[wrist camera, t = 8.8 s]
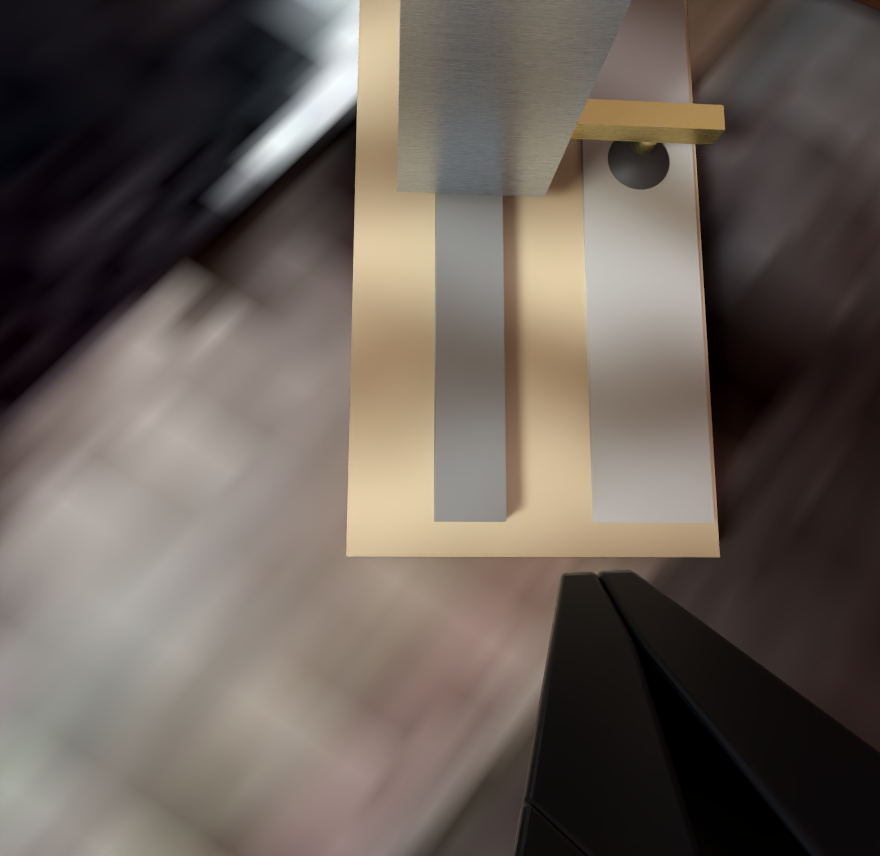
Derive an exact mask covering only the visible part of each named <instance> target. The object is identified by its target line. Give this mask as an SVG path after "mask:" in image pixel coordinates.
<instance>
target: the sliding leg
mask: <svg viewBox="0 0 880 856" xmlns="http://www.w3.org/2000/svg"><path fill="white" fill-rule="evenodd" d="M631 1H632V0H400V28H399V92H398V164H397V192H421V193H448V194H476V195H503V196H530V197H545V195H546V193H547V190H548V188H549V186H550V184H551V181H552V179H553V177H554V175H555V172H556V170H557V168H558V166H559V163H560V161H561V159H562V157H563V154H564V152H565V150H566V148H567V145H568V143H569V141H570V139H585V140H608V141H632V148H633V150H634V151H635V152H636V153H637V154H640V155H647V154H649V153H650V152H651V151H652V150H653V148H654V147H655V145H656V144H657V143H679V144H703V145H713V144H714V143H715V142H716V141H717V139H718V138H719V137H720V136H721V134H722V133H723V132H724V131H725V120H724V105H712V104H690V103H668V102H647V101H625V100H603V99H588V98H589V96H590V94H591V91H592V89H593V87H594V85H595V82H596V80H597V78H598V76H599V73H600V71H601V69H602V67H603V64H604V62H605V60H606V57H607V55H608V53H609V51H610V48H611V46H612V44H613V42H614V39H615V37H616V35H617V33H618V30H619V28H620V26H621V24H622V21H623V19H624V17H625V15H626V12H627V10H628V8H629V6H630V3H631Z"/></svg>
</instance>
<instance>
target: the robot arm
mask: <svg viewBox="0 0 880 856" xmlns="http://www.w3.org/2000/svg"><path fill="white" fill-rule="evenodd" d="M512 856H880V752H878V751H877V750H876V749H874V748H873V747H872V746H870V745H869V744H868V743H866V742H865V741H864V740H862V739H861V738H859V737H858V736H857V735H855V734H854V733H853V732H851V731H850V730H849V729H847V728H846V727H844V726H843V725H842V724H840V723H839V722H838V721H836V720H835V719H834V718H832V717H831V716H830V715H828V714H827V713H825V712H824V711H823V710H821V709H820V708H819V707H817V706H816V705H815V704H813V703H812V702H810V701H809V700H808V699H806V698H805V697H804V696H802V695H801V694H800V693H798V692H797V691H796V690H794V689H793V688H791V687H790V686H789V685H787V684H786V683H785V682H783V681H782V680H781V679H779V678H778V677H776V676H775V675H774V674H772V673H771V672H770V671H768V670H767V669H766V668H764V667H763V666H761V665H760V664H759V663H757V662H756V661H755V660H753V659H752V658H751V657H749V656H748V655H747V654H745V653H744V652H742V651H741V650H740V649H738V648H737V647H736V646H734V645H733V644H732V643H730V642H729V641H727V640H726V639H725V638H723V637H722V636H721V635H719V634H718V633H717V632H715V631H714V630H713V629H711V628H710V627H708V626H707V625H706V624H704V623H703V622H702V621H700V620H699V619H698V618H696V617H695V616H693V615H692V614H691V613H689V612H688V611H687V610H685V609H684V608H683V607H681V606H680V605H679V604H677V603H676V602H674V601H673V600H672V599H670V598H669V597H668V596H666V595H665V594H664V593H662V592H661V591H659V590H658V589H657V588H655V587H654V586H653V585H651V584H650V583H649V582H647V581H646V580H645V579H643V578H642V577H640V576H639V575H638V574H636V573H635V572H633V571H631V570H612V571H601V572H599V573H598V574H597V575H596V574H595V573H593V572H574V573H565V574H563V575H562V576H561V578H560V583H559V589H558V595H557V601H556V607H555V613H554V618H553V624H552V630H551V636H550V642H549V648H548V654H547V660H546V666H545V672H544V678H543V683H542V689H541V695H540V701H539V707H538V713H537V719H536V725H535V731H534V737H533V742H532V748H531V754H530V760H529V766H528V772H527V778H526V784H525V790H524V796H523V803H522V807H521V810H520V816H519V822H518V828H517V834H516V840H515V845H514V850H513V855H512Z"/></svg>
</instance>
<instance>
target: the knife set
mask: <svg viewBox="0 0 880 856" xmlns="http://www.w3.org/2000/svg"><path fill="white" fill-rule="evenodd" d="M854 1H857V2H859V3H862V4H865V5H867V6H870V7H873V8H876V9H879V10H880V0H854Z"/></svg>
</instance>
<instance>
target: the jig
mask: <svg viewBox="0 0 880 856" xmlns="http://www.w3.org/2000/svg"><path fill="white" fill-rule="evenodd" d="M399 28H400V0H360V12H359V54H358V95H357V137H356V179H355V220H354V262H353V303H352V345H351V387H350V428H349V470H348V512H347V553H346V556H400V557H720V551H719V534H718V518H717V501H716V484H715V467H714V450H713V434H712V417H711V400H710V383H709V367H708V350H707V333H706V316H705V299H704V283H703V266H702V249H701V232H700V215H699V199H698V182H697V165H696V148H695V144H679V143H657V144H656V145H655V147H654V148H653V150H652V151H651V152H650V153H649V154H647V155H640V154H637V153H636V152H635V151H634V150H633V148H632V141H608V140H585V139H570V141H569V143H568V145H567V148H566V150H565V152H564V154H563V157H562V159H561V161H560V163H559V166H558V168H557V170H556V172H555V175H554V177H553V179H552V181H551V184H550V186H549V188H548V190H547V193H546V195H545V197H530V196H503V195H476V194H448V193H421V192H397V164H398V92H399ZM588 99H603V100H625V101H647V102H668V103H690V104H693V98H692V81H691V64H690V48H689V31H688V14H687V0H632V1H631V3H630V6H629V8H628V10H627V12H626V15H625V17H624V19H623V21H622V24H621V26H620V28H619V30H618V33H617V35H616V37H615V39H614V42H613V44H612V46H611V48H610V51H609V53H608V55H607V57H606V60H605V62H604V64H603V67H602V69H601V71H600V73H599V76H598V78H597V80H596V82H595V85H594V87H593V89H592V91H591V94H590V96H589V98H588Z"/></svg>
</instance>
